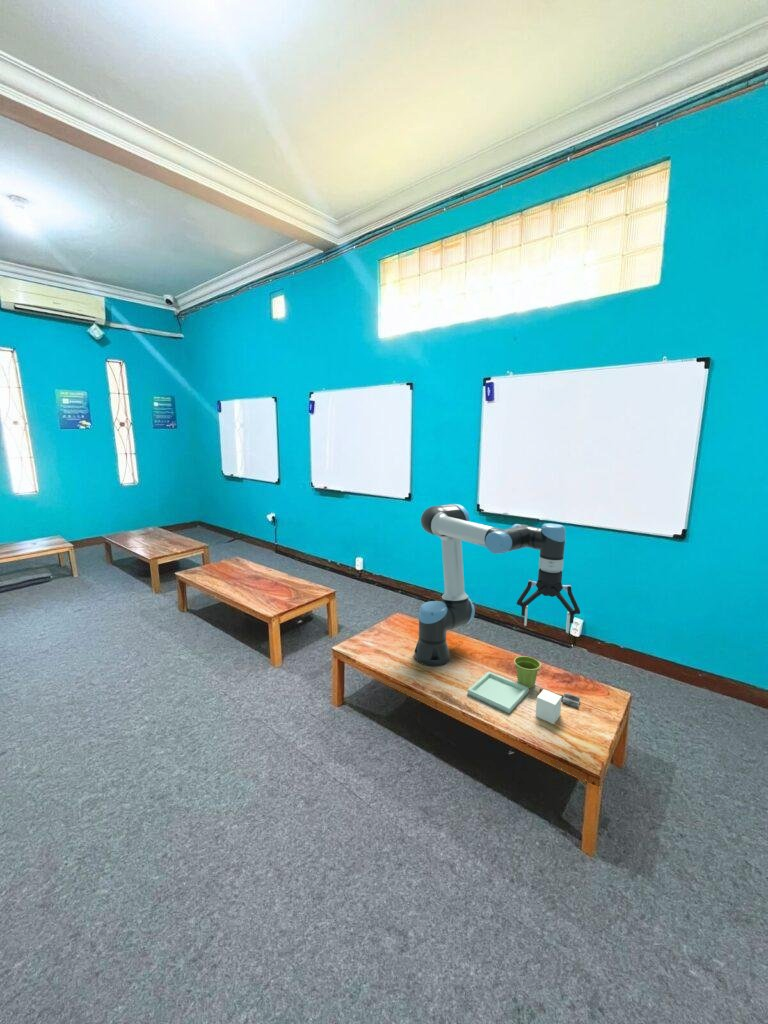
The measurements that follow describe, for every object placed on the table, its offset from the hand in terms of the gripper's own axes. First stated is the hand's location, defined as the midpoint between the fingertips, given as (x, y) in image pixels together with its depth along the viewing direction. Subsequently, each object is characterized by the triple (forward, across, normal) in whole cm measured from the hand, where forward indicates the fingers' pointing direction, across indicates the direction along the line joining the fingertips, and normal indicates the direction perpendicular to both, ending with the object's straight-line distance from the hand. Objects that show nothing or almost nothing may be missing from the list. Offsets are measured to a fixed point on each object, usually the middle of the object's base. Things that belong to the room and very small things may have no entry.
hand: (545, 627), depth 139 cm
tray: (+27, -14, -4) cm, 31 cm away
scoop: (+27, +6, +1) cm, 27 cm away
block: (+27, +2, -10) cm, 28 cm away
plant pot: (+27, -5, +7) cm, 28 cm away
